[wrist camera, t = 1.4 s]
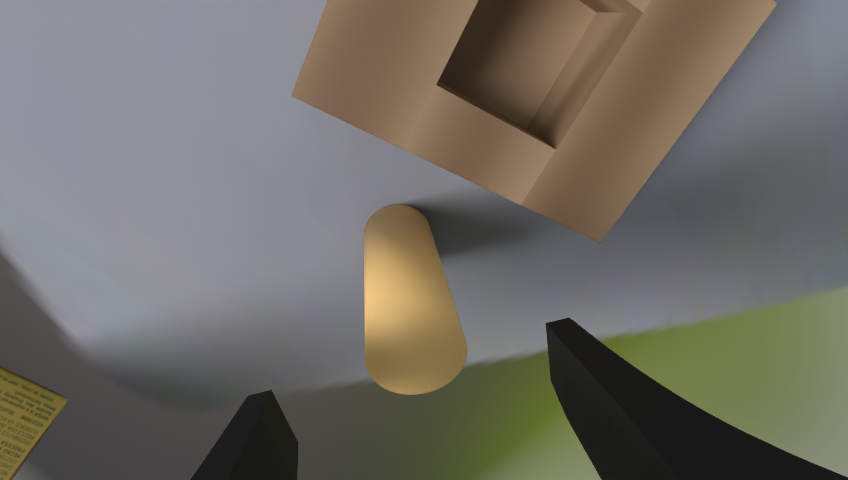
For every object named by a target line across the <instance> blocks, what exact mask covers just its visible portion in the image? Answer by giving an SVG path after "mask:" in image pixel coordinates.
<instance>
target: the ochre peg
mask: <svg viewBox="0 0 848 480" xmlns="http://www.w3.org/2000/svg"><path fill="white" fill-rule="evenodd" d="M364 284H365V363H366V368H367V370H368V373H369V374H370V376H371V377H372V379H373V380H374V381H375V382H376V383H378V384H379V385H380V386H382V387H383V388H385V389H387V390H389V391H392V392H395V393H400V394H413V395H414V394H422V393H427V392H430V391H434V390H436V389H439V388H441V387H443V386H444V385H446V384H448V383H449V382H450V381H452V380H453V379H454V378H455V377H456V376H457V375H458V374H459V372H460V371H461V369H462V368H463V366H464V364H465V361H466V357H467V344H466V340H465V337H464V334H463V331H462V328H461V324H460V321H459V318H458V315H457V312H456V308H455V305H454V302H453V299H452V296H451V293H450V289H449V286H448V283H447V280H446V277H445V273H444V270H443V267H442V264H441V261H440V258H439V254H438V251H437V248H436V245H435V242H434V238H433V235H432V232H431V229H430V226H429V223H428V221H427V219H426V218H425V216H424V215H423V214H422V213H421V212H420V211H418V210H417V209H415V208H413V207H410V206H407V205H401V204H396V205H390V206H386V207H384V208H382V209H380V210H378V211H377V212H375V213H374V214H373V215H372V216H371V218H370V219H369V220H368V222H367V224H366V226H365V230H364Z"/></svg>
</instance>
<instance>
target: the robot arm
mask: <svg viewBox="0 0 848 480" xmlns="http://www.w3.org/2000/svg"><path fill="white" fill-rule="evenodd" d="M546 332H547V343H548V354H549V363H550V364H549V365H550V376H551V382H552V384H553V386H554V389H555V392H556V394H557V396H558V399H559V401H560V403H561V406H562V408H563V410H564V413H565V415H566V417H567V419H568V420H569V423H570V424H571V426H572V428H573V430H574V432H575V433H576V435H577V437H578V439H579V441H580V442H581V444H582V446H583V448H584V449H585V451H586V452H587V454H588V456H589V458H590V460H591V462H592V463H593V465H594V467H595V468H596V471H597V472H598V474H599V476H600V478H601V479H602V480H848V477H845V476H843V475H840V474H838V473H835V472H833V471H831V470H828V469H826V468H823V467H821V466H818V465H816V464H813V463H811V462H808V461H806V460H804V459H801V458H799V457H797V456H795V455H792V454H790V453H788V452H786V451H784V450H782V449H779V448H777V447H775V446H773V445H771V444H769V443H767V442H765V441H762V440H760V439H758V438H756V437H754V436H752V435H750V434H747V433H745V432H743V431H741V430H739V429H737V428H735V427H733V426H731V425H729V424H727V423H726V422H724V421H722V420H720V419H718V418H716V417H715V416H713V415H711V414H709V413H707V412H705V411H704V410H702V409H700V408H698V407H696V406H695V405H693V404H691V403H690V402H688V401H686V400H685V399H683V398H681V397H680V396H678V395H676V394H675V393H673V392H672V391H670V390H669V389H667V388H665V387H664V386H662V385H661V384H659V383H657V382H656V381H655V380H653V379H652V378H650V377H649V376H647V375H646V374H644V373H643V372H641V371H640V370H638V369H637V368H635V367H634V366H632V365H631V364H630V363H628V362H627V361H625V360H624V359H623V358H621V357H620V356H619V355H617V354H616V353H614V352H613V351H612V350H610V349H609V348H608V347H606V346H605V345H604V344H603V343H601V342H600V341H599V340H597V339H596V338H595V337H593V336H592V335H591V334H590V333H588V332H587V331H586V330H585V329H583V328H582V327H581V326H579V325H578V324H577V323H576V322H574V321H573V320H572V319H570V318H566V319H561V320H557V321H553V322H549V323H546ZM297 465H298V441H297V439H296V437H295V436H294V433H293V432H292V430H291V428H290V426H289V424H288V422H287V420H286V418H285V416H284V414H283V412H282V410H281V408H280V406H279V404H278V402H277V400H276V398H275V396H274V394H273V392H272V390H270V391H266V392H262V393H257V394H253V395H249V396H248V397H247V398H246V399H245V401H244V402H243V404H242V405H241V407H240V408H239V410H238V411H237V413H236V414H235V416H234V417H233V419H232V420H231V422H230V423H229V425H228V426H227V428H226V429H225V431H224V432H223V433H222V435H221V436H220V438H219V440H218V441H217V442H216V444H215V445H214V447H213V448H212V450H211V451H210V453H209V454H208V456H207V457H206V458H205V460H204V461H203V463H202V464H201V466H200V467H199V468H198V470H197V471H196V473H195V474H194V476H193V477H192V478H191V480H297V467H298V466H297Z"/></svg>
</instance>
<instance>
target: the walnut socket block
mask: <svg viewBox="0 0 848 480" xmlns="http://www.w3.org/2000/svg"><path fill="white" fill-rule="evenodd" d="M776 5H777V3H776V2H774V1H773V0H328V1H327V4H326V6H325V9H324V11H323V14H322V17H321V19H320V22H319V24H318V27H317V30H316V32H315V35H314V38H313V40H312V43H311V45H310V48H309V51H308V53H307V56H306V59H305V61H304V64H303V66H302V69H301V72H300V74H299V77H298V79H297V82H296V85H295V87H294V90H293V93H292V95H291V96H292V97H294V98H296V99H299V100H301V101H303V102H305V103H307V104H309V105H311V106H313V107H315V108H317V109H320V110H322V111H324V112H326V113H328V114H330V115H332V116H334V117H336V118H338V119H341V120H343V121H345V122H347V123H349V124H351V125H353V126H355V127H357V128H359V129H362V130H364V131H366V132H368V133H370V134H372V135H374V136H376V137H378V138H380V139H383V140H385V141H387V142H389V143H391V144H393V145H395V146H397V147H399V148H401V149H404V150H406V151H408V152H410V153H412V154H414V155H416V156H418V157H420V158H422V159H425V160H427V161H429V162H431V163H433V164H435V165H437V166H439V167H441V168H443V169H446V170H448V171H450V172H452V173H454V174H456V175H458V176H460V177H462V178H464V179H467V180H469V181H471V182H473V183H475V184H477V185H479V186H481V187H483V188H486V189H488V190H490V191H492V192H494V193H496V194H498V195H500V196H502V197H504V198H507V199H509V200H511V201H513V202H515V203H517V204H519V205H521V206H523V207H525V208H528V209H530V210H532V211H534V212H536V213H538V214H540V215H542V216H544V217H546V218H549V219H551V220H553V221H555V222H557V223H559V224H561V225H563V226H565V227H567V228H570V229H572V230H574V231H576V232H578V233H580V234H582V235H584V236H586V237H588V238H591V239H593V240H595V241H597V242H599V243H601V242H602V240H603V239H604V238H605V236H606V235H607V234H608V232H609V231H610V230H611V228H612V227H613V226H614V224H615V223H616V222H617V220H618V219H619V217H620V216H621V215H622V213H623V212H624V211H625V209H626V208H627V207H628V205H629V204H630V203H631V201H632V200H633V199H634V197H635V196H636V194H637V193H638V192H639V190H640V189H641V188H642V186H643V185H644V184H645V182H646V181H647V180H648V178H649V177H650V176H651V174H652V173H653V171H654V170H655V169H656V167H657V166H658V165H659V163H660V162H661V161H662V159H663V158H664V157H665V155H666V154H667V153H668V151H669V150H670V148H671V147H672V146H673V144H674V143H675V142H676V140H677V139H678V138H679V136H680V135H681V134H682V132H683V131H684V130H685V128H686V127H687V126H688V124H689V123H690V121H691V120H692V119H693V117H694V116H695V115H696V113H697V112H698V111H699V109H700V108H701V107H702V105H703V104H704V103H705V101H706V100H707V98H708V97H709V96H710V94H711V93H712V92H713V90H714V89H715V88H716V86H717V85H718V84H719V82H720V81H721V80H722V78H723V77H724V75H725V74H726V73H727V71H728V70H729V69H730V67H731V66H732V65H733V63H734V62H735V61H736V59H737V58H738V57H739V55H740V54H741V52H742V51H743V50H744V48H745V47H746V46H747V44H748V43H749V42H750V40H751V39H752V38H753V36H754V35H755V34H756V32H757V31H758V29H759V28H760V27H761V25H762V24H763V23H764V21H765V20H766V19H767V17H768V16H769V15H770V13H771V12H772V11H773V9H774V8H775V6H776Z"/></svg>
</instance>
